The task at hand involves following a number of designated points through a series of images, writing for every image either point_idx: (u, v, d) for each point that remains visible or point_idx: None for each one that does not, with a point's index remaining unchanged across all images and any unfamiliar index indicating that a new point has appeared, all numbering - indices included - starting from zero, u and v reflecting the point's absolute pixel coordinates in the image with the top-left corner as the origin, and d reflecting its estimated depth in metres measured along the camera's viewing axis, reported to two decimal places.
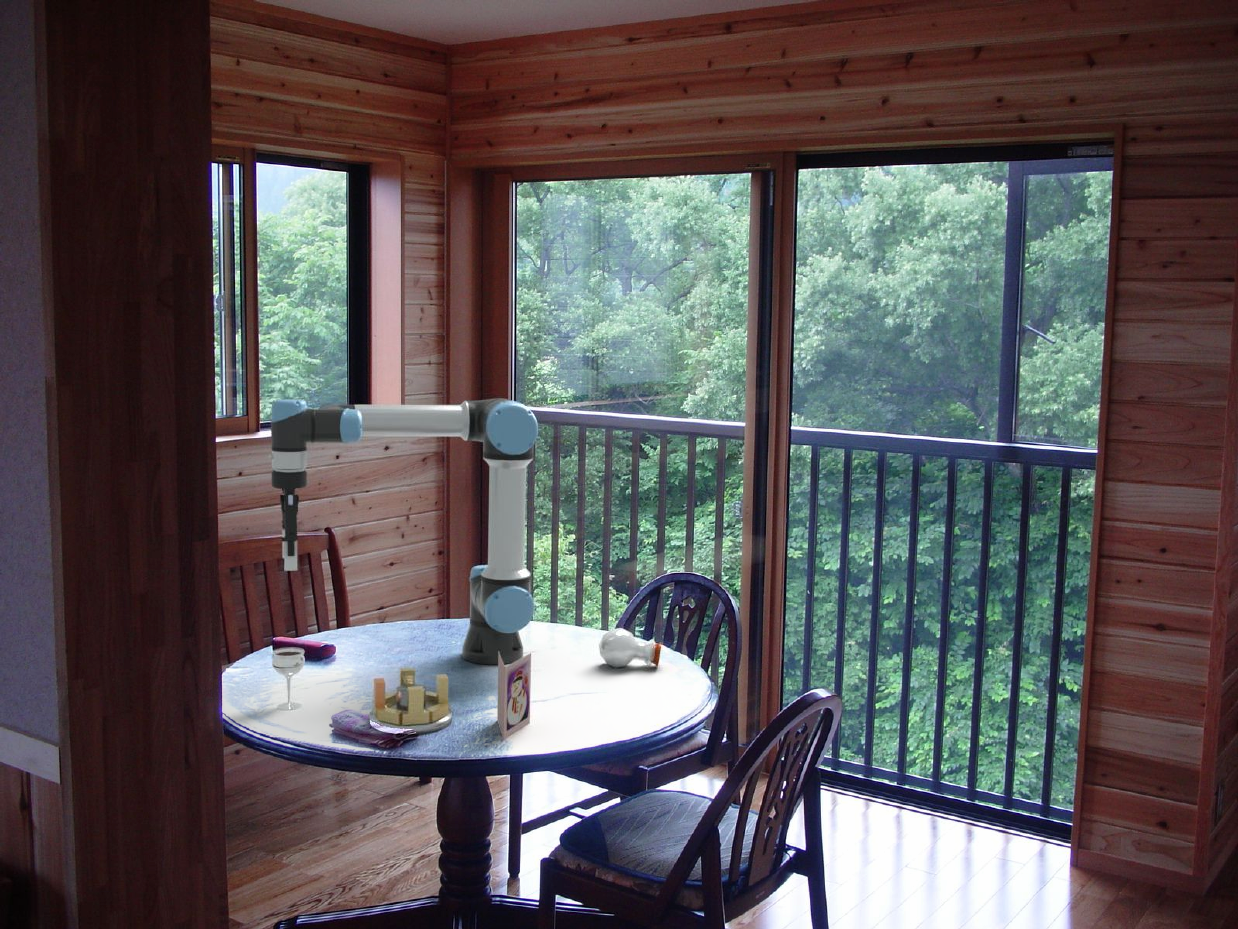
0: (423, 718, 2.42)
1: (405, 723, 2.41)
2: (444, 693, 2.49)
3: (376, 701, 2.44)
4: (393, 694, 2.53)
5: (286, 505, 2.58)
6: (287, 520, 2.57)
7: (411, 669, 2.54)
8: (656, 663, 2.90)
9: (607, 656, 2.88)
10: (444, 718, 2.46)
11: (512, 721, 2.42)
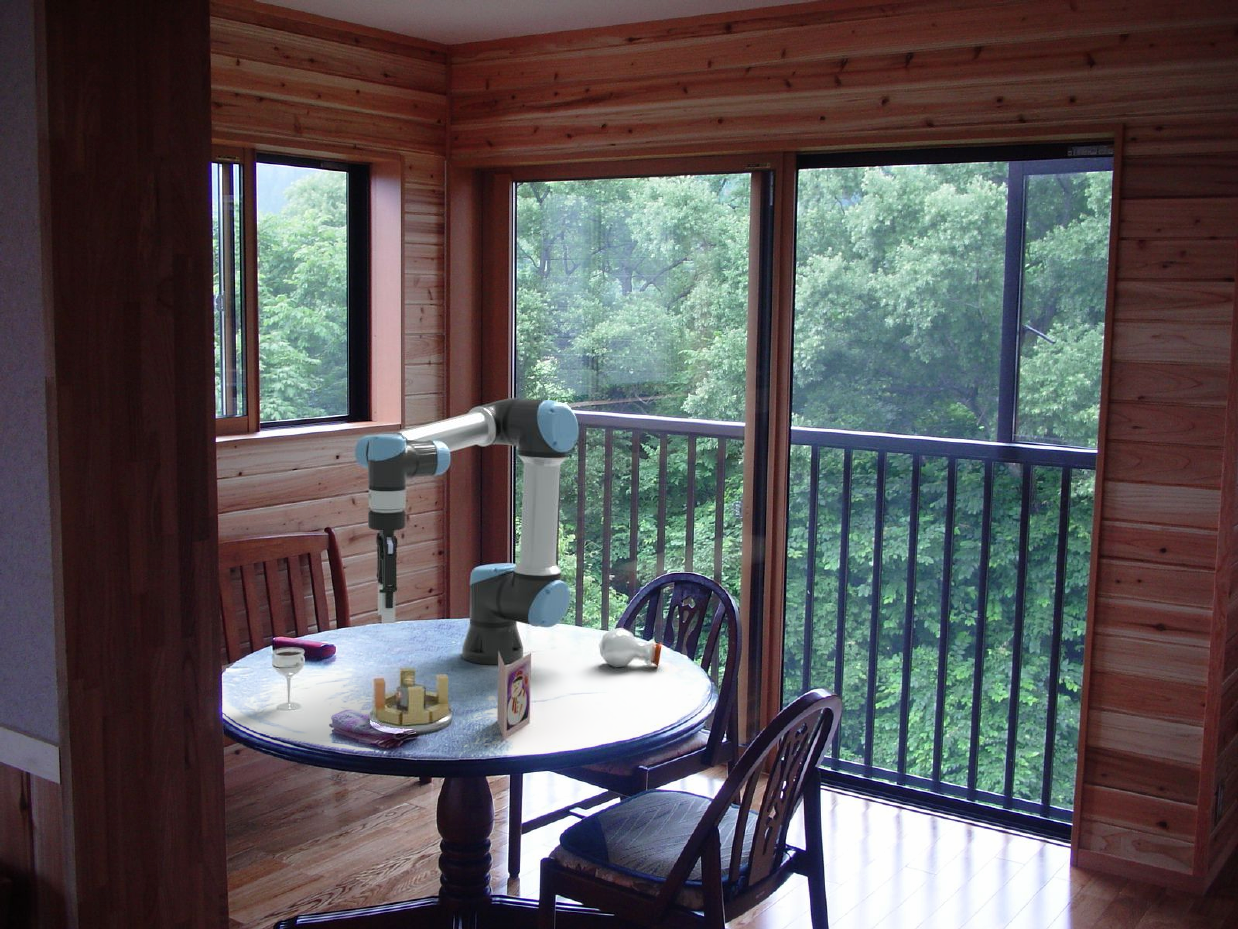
0: (423, 718, 2.42)
1: (405, 723, 2.41)
2: (444, 693, 2.49)
3: (376, 701, 2.44)
4: (393, 694, 2.53)
5: (386, 554, 2.41)
6: (386, 571, 2.41)
7: (411, 669, 2.54)
8: (656, 663, 2.90)
9: (607, 656, 2.88)
10: (444, 718, 2.46)
11: (512, 722, 2.42)
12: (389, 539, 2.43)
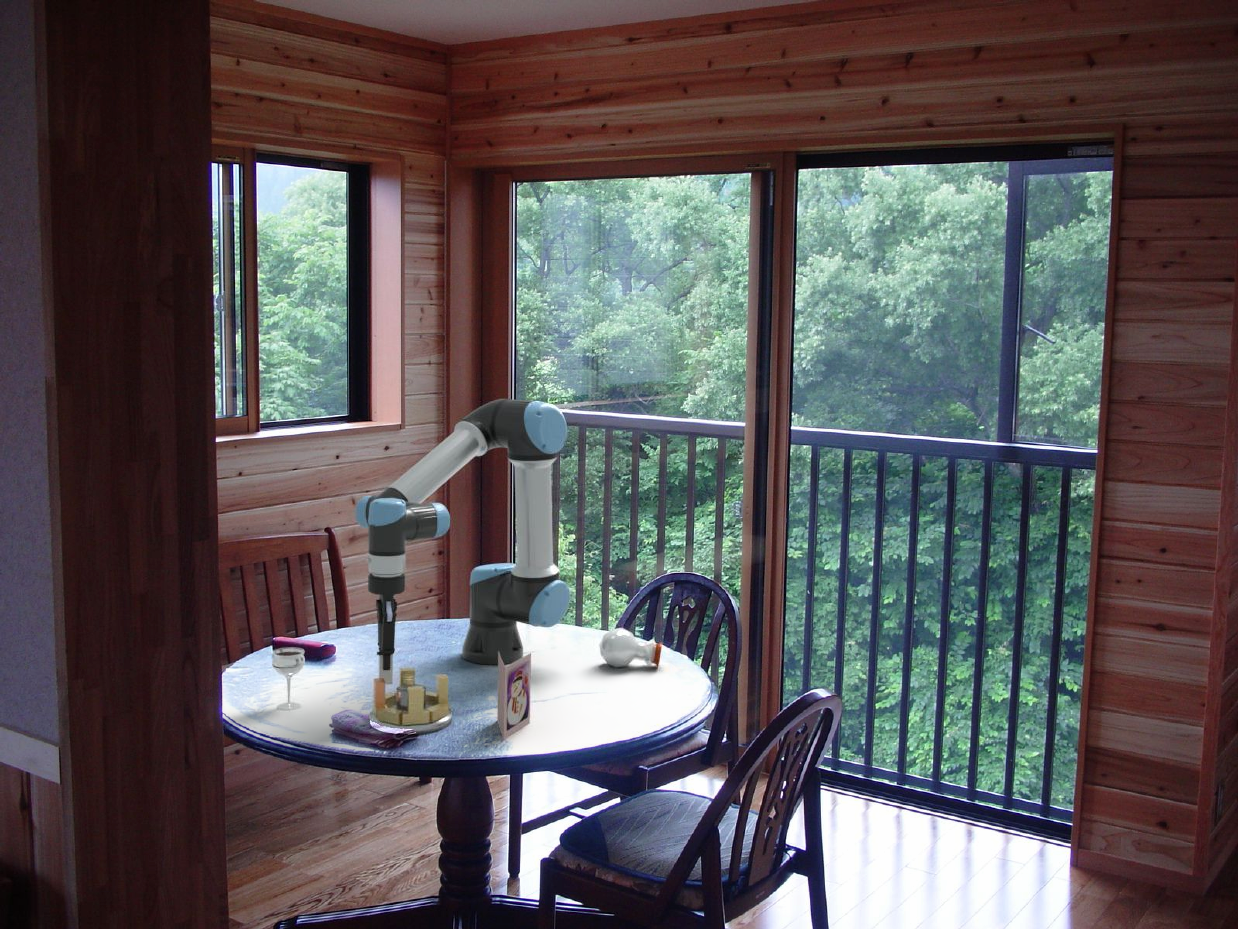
0: (423, 718, 2.42)
1: (405, 723, 2.41)
2: (444, 693, 2.49)
3: (376, 701, 2.44)
4: (393, 694, 2.53)
5: (385, 623, 2.44)
6: (384, 637, 2.45)
7: (411, 669, 2.54)
8: (656, 663, 2.91)
9: (607, 656, 2.88)
10: (444, 718, 2.46)
11: (511, 721, 2.42)
12: (389, 605, 2.45)
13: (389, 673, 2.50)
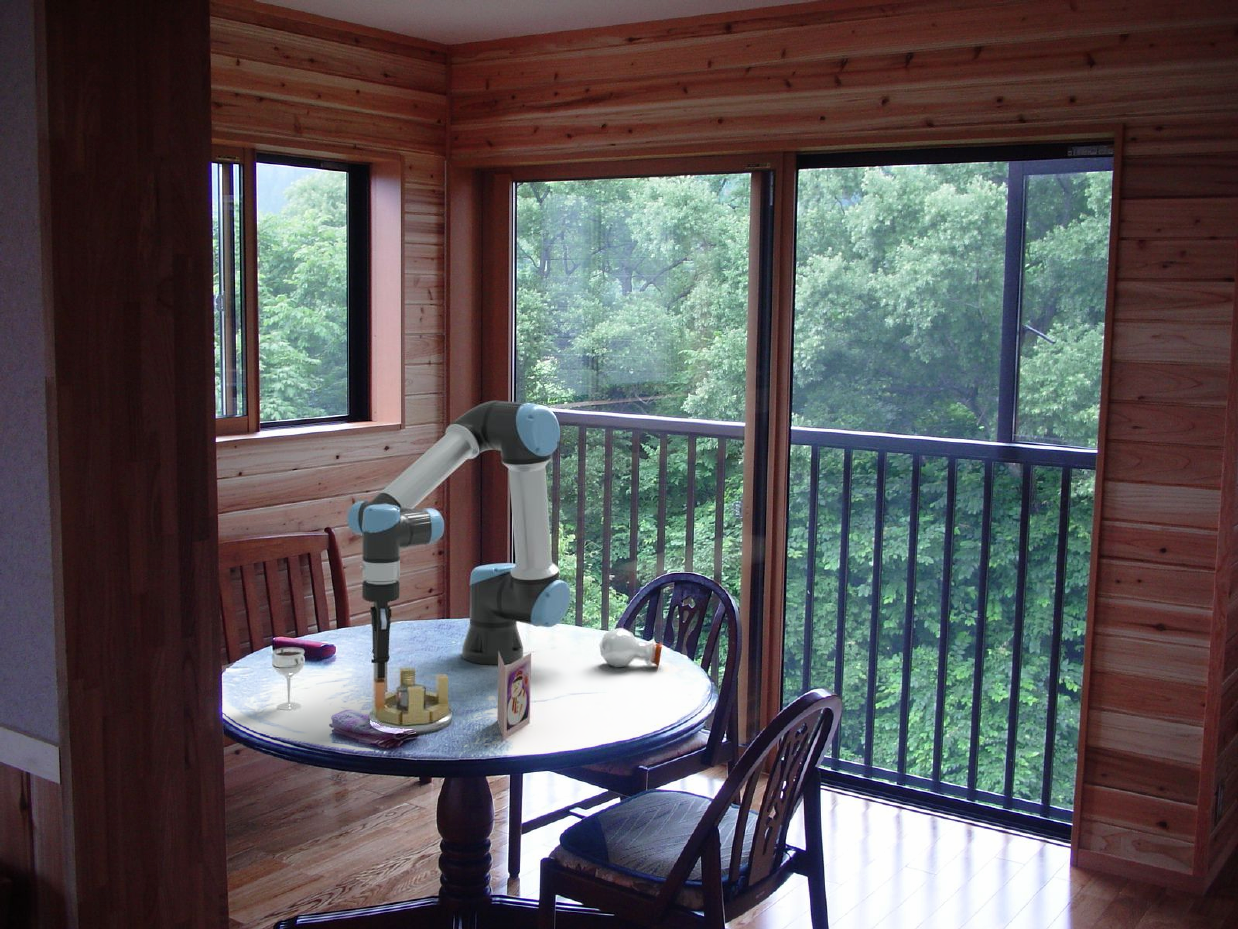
0: (423, 718, 2.42)
1: (405, 723, 2.41)
2: (444, 693, 2.49)
3: (376, 701, 2.44)
4: (393, 694, 2.53)
5: (379, 630, 2.41)
6: (379, 645, 2.42)
7: (411, 669, 2.54)
8: (657, 663, 2.91)
9: (608, 656, 2.88)
10: (444, 718, 2.46)
11: (512, 721, 2.42)
12: (383, 612, 2.42)
13: None
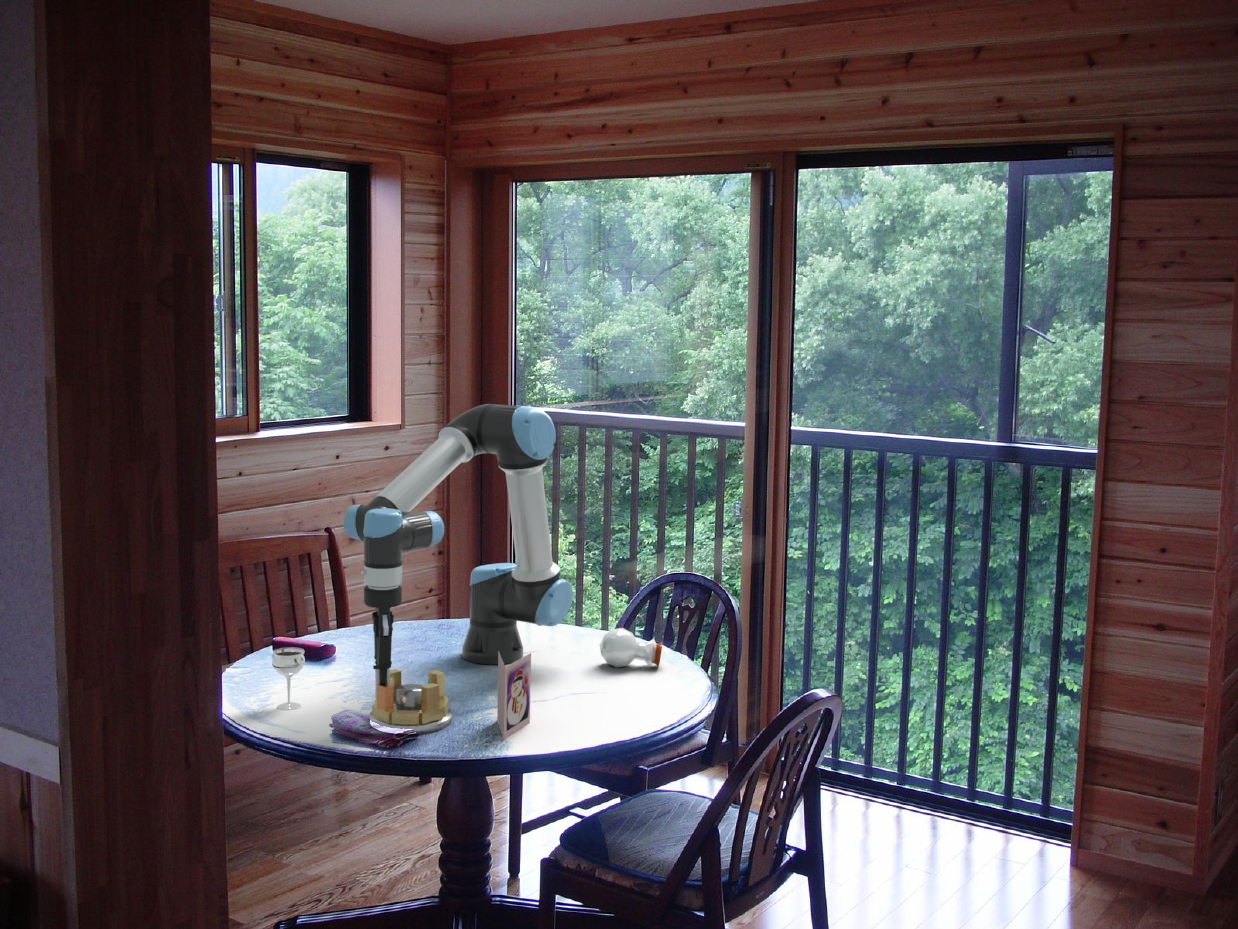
0: (439, 715, 2.44)
1: (424, 722, 2.42)
2: (441, 688, 2.52)
3: (386, 706, 2.42)
4: None
5: (381, 637, 2.37)
6: (381, 651, 2.39)
7: (396, 670, 2.53)
8: (657, 663, 2.91)
9: (608, 656, 2.88)
10: (444, 718, 2.46)
11: (512, 721, 2.42)
12: (385, 619, 2.38)
13: None
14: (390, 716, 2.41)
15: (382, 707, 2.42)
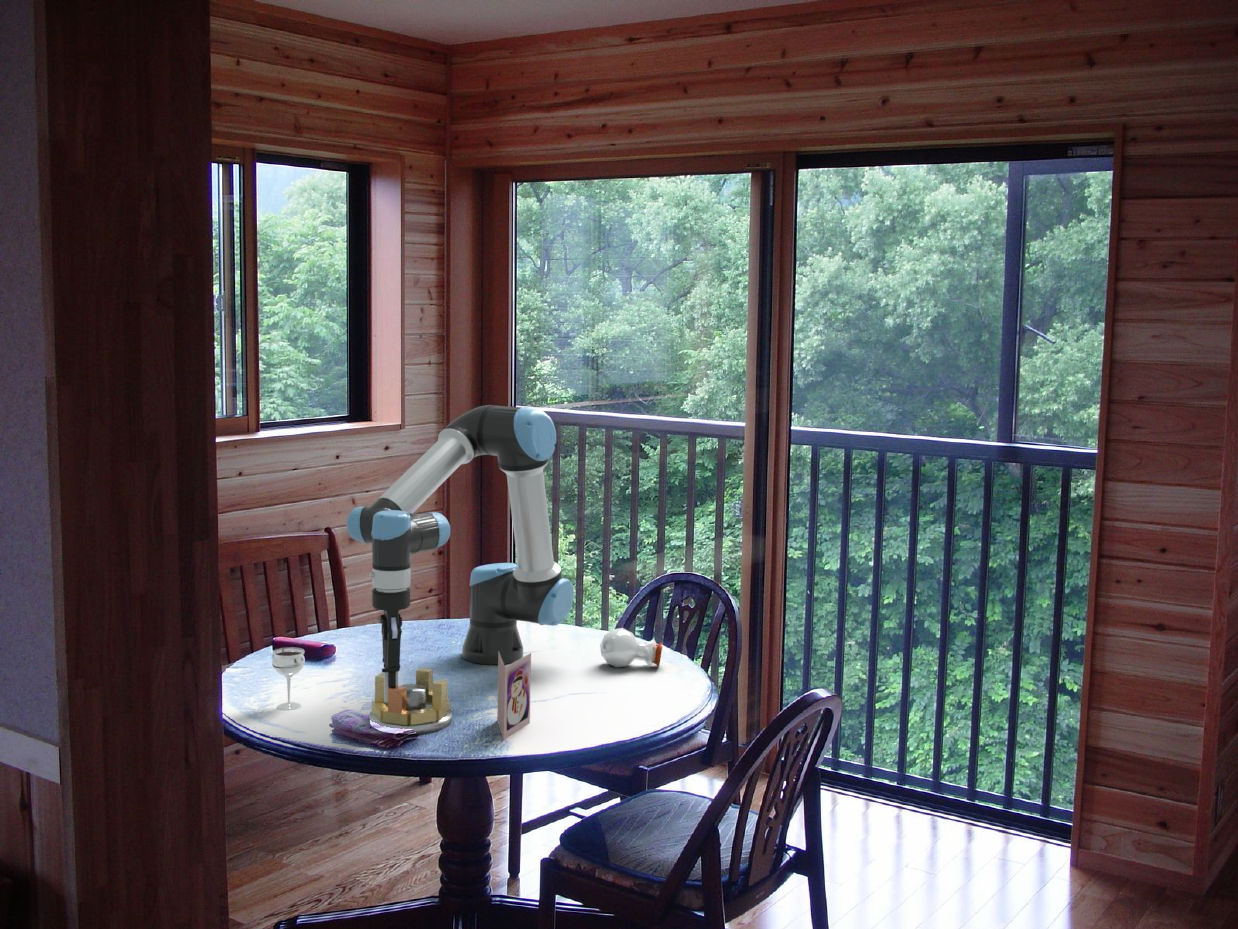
0: (447, 709, 2.48)
1: (439, 718, 2.44)
2: (431, 684, 2.54)
3: (402, 708, 2.41)
4: (380, 703, 2.47)
5: (390, 639, 2.36)
6: (389, 654, 2.37)
7: None
8: (657, 663, 2.91)
9: (608, 656, 2.88)
10: (444, 718, 2.46)
11: (512, 721, 2.42)
12: (394, 621, 2.37)
13: None
14: (408, 717, 2.41)
15: (397, 710, 2.41)
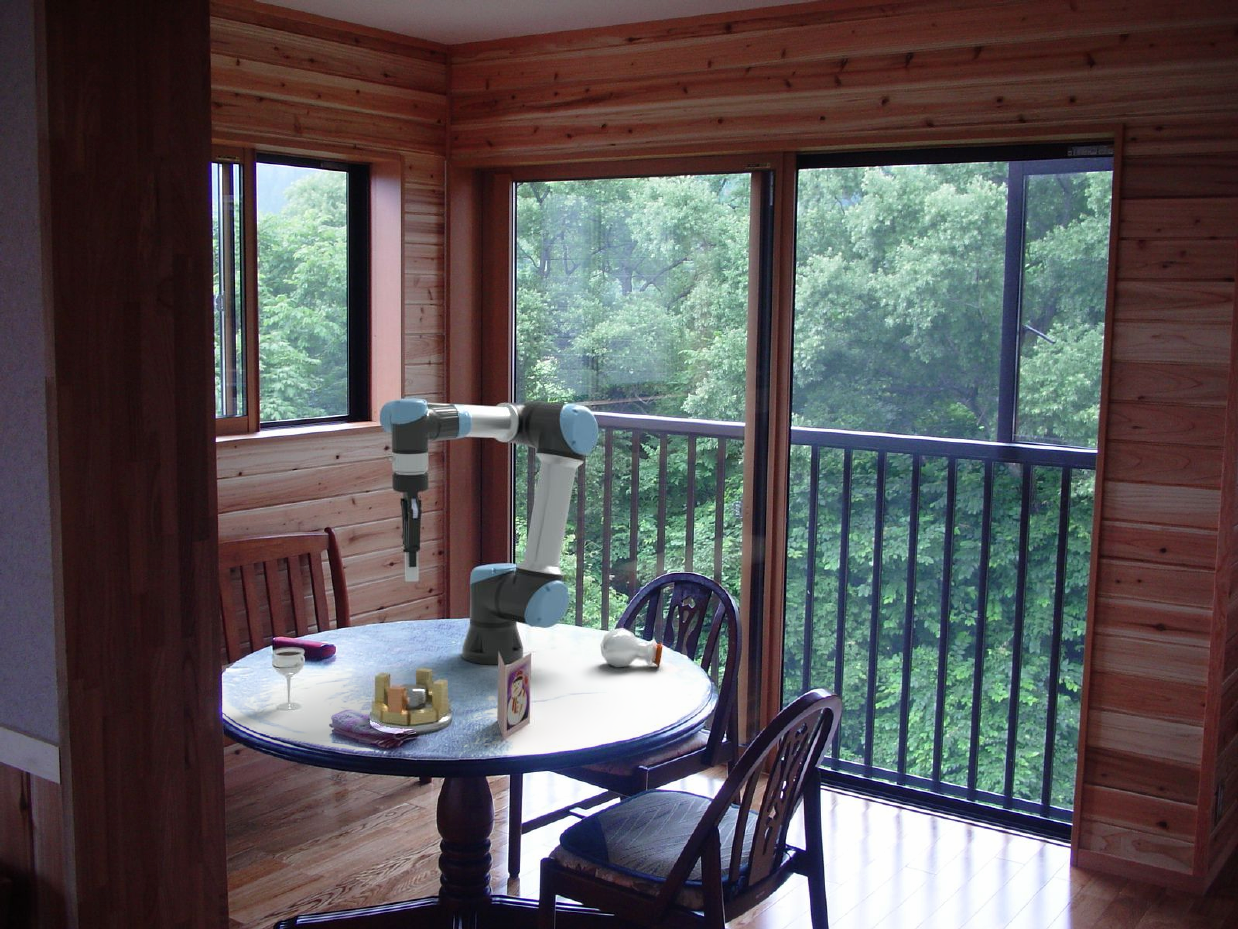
0: (447, 709, 2.48)
1: (439, 718, 2.44)
2: (431, 684, 2.54)
3: (402, 708, 2.41)
4: (380, 703, 2.47)
5: (410, 519, 2.48)
6: (410, 534, 2.50)
7: (385, 674, 2.50)
8: (657, 663, 2.91)
9: (608, 656, 2.88)
10: (444, 718, 2.46)
11: (512, 722, 2.42)
12: (414, 502, 2.49)
13: (415, 570, 2.55)
14: (407, 717, 2.41)
15: (397, 710, 2.41)
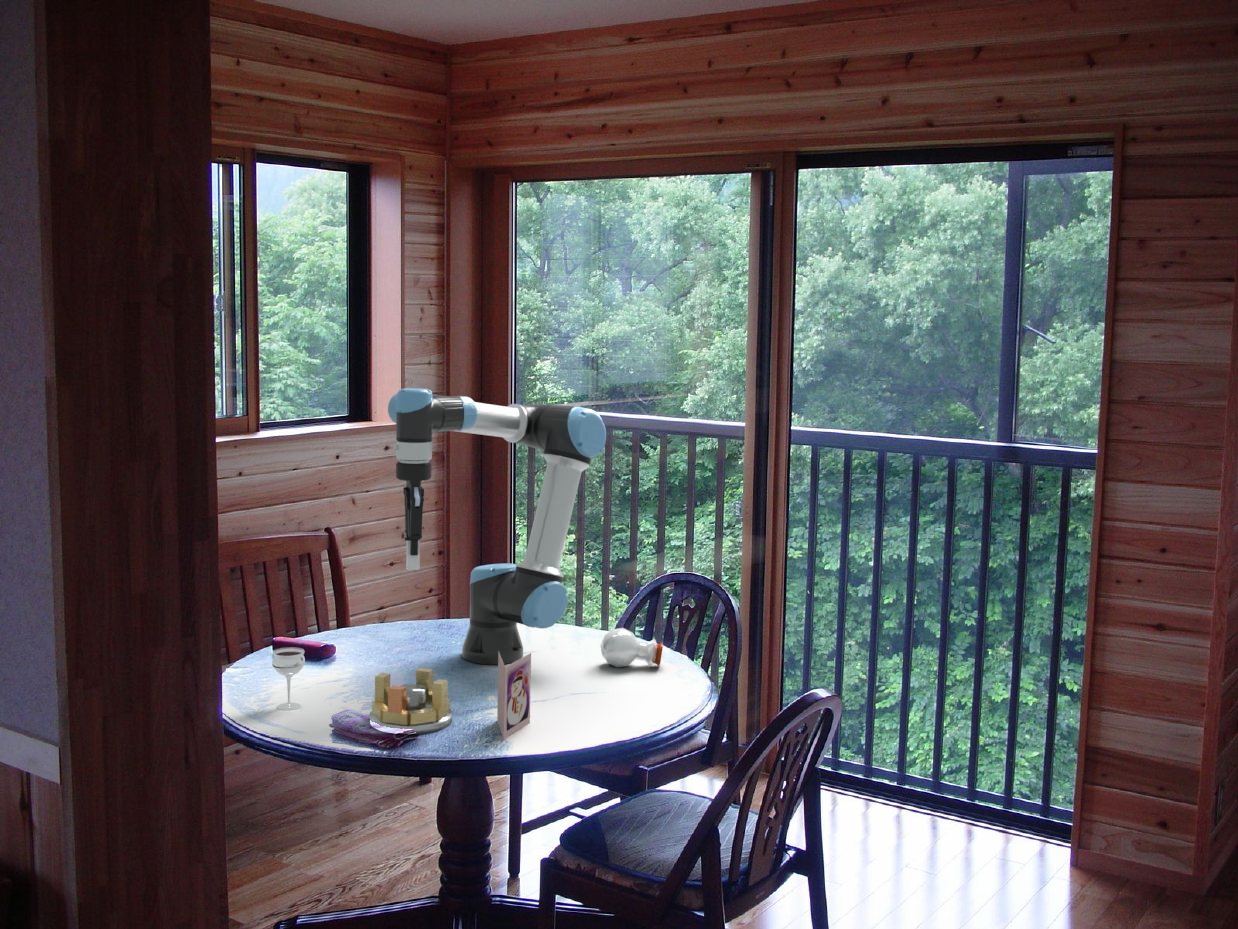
0: (447, 709, 2.48)
1: (439, 718, 2.44)
2: (431, 684, 2.54)
3: (402, 708, 2.41)
4: (380, 703, 2.47)
5: (412, 507, 2.51)
6: (412, 522, 2.52)
7: (385, 674, 2.50)
8: (658, 663, 2.91)
9: (609, 656, 2.88)
10: (444, 718, 2.46)
11: (512, 722, 2.42)
12: (416, 490, 2.52)
13: (416, 559, 2.57)
14: (407, 717, 2.41)
15: (397, 710, 2.41)
